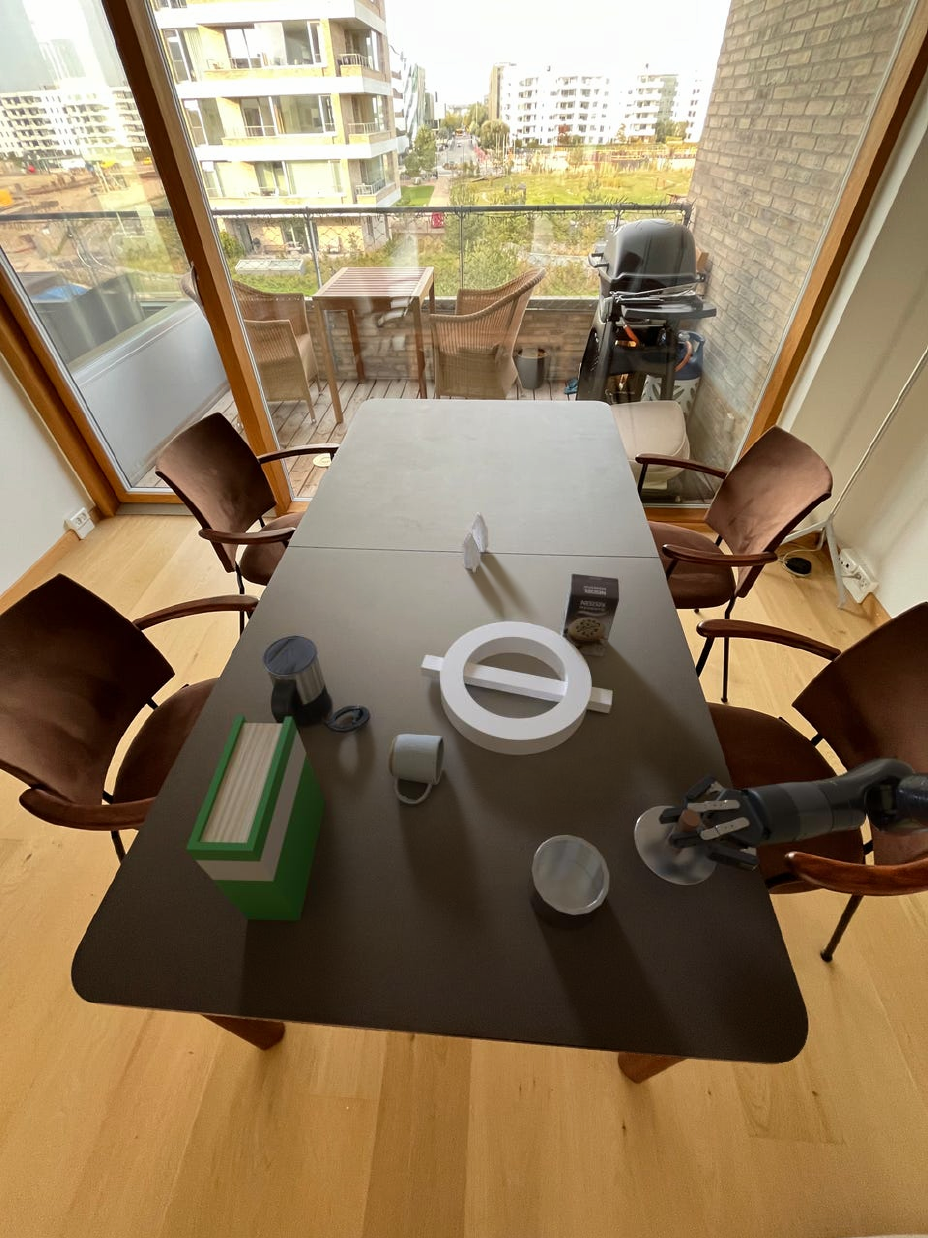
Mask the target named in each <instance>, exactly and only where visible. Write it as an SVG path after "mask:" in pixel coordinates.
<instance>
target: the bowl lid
mask: <svg viewBox="0 0 928 1238" xmlns="http://www.w3.org/2000/svg"><path fill="white" fill-rule="evenodd" d="M672 807H673V806H671V805H659V806H655V807H651V808H649V809H648V810H645V812H644V813H642V815H640V817H639V818H638V820H637V822H636V824H635V827H634V830H633V843H634V847H635V850H636V853H637V855H638V857H639V859H640V861H641V862H642V864H643V865H644V866H645V867H646V868H647V870H648V871H650V872H651V874H653V876H655V877H657V878H658V879H660V880H662V881H664V882H665V883H668V884H670V885H674V886H679V887H692V886H697V885H700V884H701V883H703V882H704V881H706V880H707V879H709V877H710V876H711V875H712V874H713V872H714V870H715V868H716V865H717V862H716V861H712V860H709V859H708V858H707V857H706V855H705V852H704V851H703V849H702V848H700V847H697V846H696V847H689V848H682V849H677V848H675V847H674V846H670V845H669V843H668V841H667V840H668V838H669V836H670V835H672V834H676V833H683V832H689V831H696V830H697V831H698V833H700V832H702V831H705V830H708V829H709V828H707V826H706V825H705V823H703V821H701V819H700V816H699V814H698V813H697V812H695V811H694V810H690V809H687V810H685V811H683V813H682V814H681V816H680V818H679V819H678V821H677V822H675V823H669V824H660V821H659V817H660V815H661V814H662V812H663V811H664V810H665V809H666V808H672Z"/></svg>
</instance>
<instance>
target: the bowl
mask: <svg viewBox="0 0 928 1238" xmlns="http://www.w3.org/2000/svg"><path fill="white" fill-rule="evenodd" d="M610 877H611V875H610V871H609V869H608V865H607V862H606V859H605V858H604V856H603V855H602V854H601V853H600V852H599V850H598V849H597V847H596V846H594V845H593V844H591V843H590V842H588V841H587V840H585V839H584V838H582V837H579V836H574V835H570V834H565V835H564V834H563V835H556V836H553V837H551V838H549V839H547V840H546V841H545V842H543V843H541V844H540V846H539V848H538V849H537V851H536V852H535V854H534V855H533V859H532V864H531V868H530V873H529V878H528V884H527V889H528V890H527V892H528V898H529V901H530V903H531V906H532V908H533V910H534V912H535V913H536V914H537V916H539V918H540V919H541V920H542V921H543V922H544V923H546V924H547V925H548V926H551V927H552V928H554V929H557V930H561V931H571V932H572V931H576V930H581V929H582V928H585V927H587V926H588V925H589V924H591V922H592V921H594V919H595V918H596V916H597V914H598V912H599V911H600V909H601V907H602V905H603V903H604V901H605V899H606V897H607V895H608V893H609V890H610V880H611V879H610Z"/></svg>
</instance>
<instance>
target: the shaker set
mask: <svg viewBox="0 0 928 1238" xmlns="http://www.w3.org/2000/svg"><path fill="white" fill-rule="evenodd" d="M488 548H489V530H488V526H487V524H486V522H485V519H484V517H483V515H482V513H481V512H477V513H476V514H475V516H474V518H473V520H472V523H471V532H467V534H466V535H465V537H464V539H463V542H462V562H463V564H462V565H463V566H464V568H465V569H470V570H471V572H472V573H476V572H477V568H478V567H479V566H480V552H481V553H486V549H488Z"/></svg>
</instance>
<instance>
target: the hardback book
mask: <svg viewBox="0 0 928 1238" xmlns="http://www.w3.org/2000/svg"><path fill="white" fill-rule="evenodd" d="M303 743H304V742H303V741H302V738H301V735H300V736H299V733H298V730H297V728H296V725H295V723H294V720H293V717H285V719H284V722H283V724H277V723H273V722H272V723H269V722H268V723H267V722H266V723H265V722H247V720H246V718H245V716H244V715H236V716H235V719H234V721H233V724H232V726H231V729H230V732H229V734H228V737H227V740H226V742H225V745H224V748H223V750H222V753H221V755H220V759H219V760H218V763H217V766H216V768H215V772H214V774H213V777H212V779H211V782H210V785H209V787H208V789H207V793H206V795H205V798H204V801H203V803H202V806H201V809H200V810H199V813H198V815H197V819H196V821H195V824H194V826H193V830H192V832H191V835H190V837H189V839H188V841H187V845H186V847H185V850H186V852H188V854H189V855H190V856H191V857H192V858H193V860H194V861H195V862H196V863H197V864H198V865H199V867H200V868H202V870H203V871H204V872H205V874H207V876H208V877H210V878H211V880H212V881H213V882H214V883H215V885H216V886H217V887H218V888H219V889H220V890H221V891H222V892H223V893H224V895H226V897H227V898H228V899H229V900H230V901H231V903H232V904H233V905H234V906H235V908H237V910H239V912H240V913H241V914H242V915H243V917H245V918H246V920H256V921H257V920H259V921H296V922H297V921H298V922H299V921H301V917H302V913H303V908H304V902H305V899H306V894H307V890H308V889H307V888H308V883H309V881H310V874H311V870H312V867H313V862H314V856H315V852H316V847H317V842H318V837H319V833H320V828H321V823H322V818H323V815H324V814H323V813H324V809H325V805H326V801H325V798H324V795H323V793H322V790H321V788H320V784H319V783H318V780H317V778H316V774H315V772H314V770H313V767H312V764H311V761H310V759H309V757H308V754H307V751H306V749H305V746H304V744H303Z"/></svg>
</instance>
